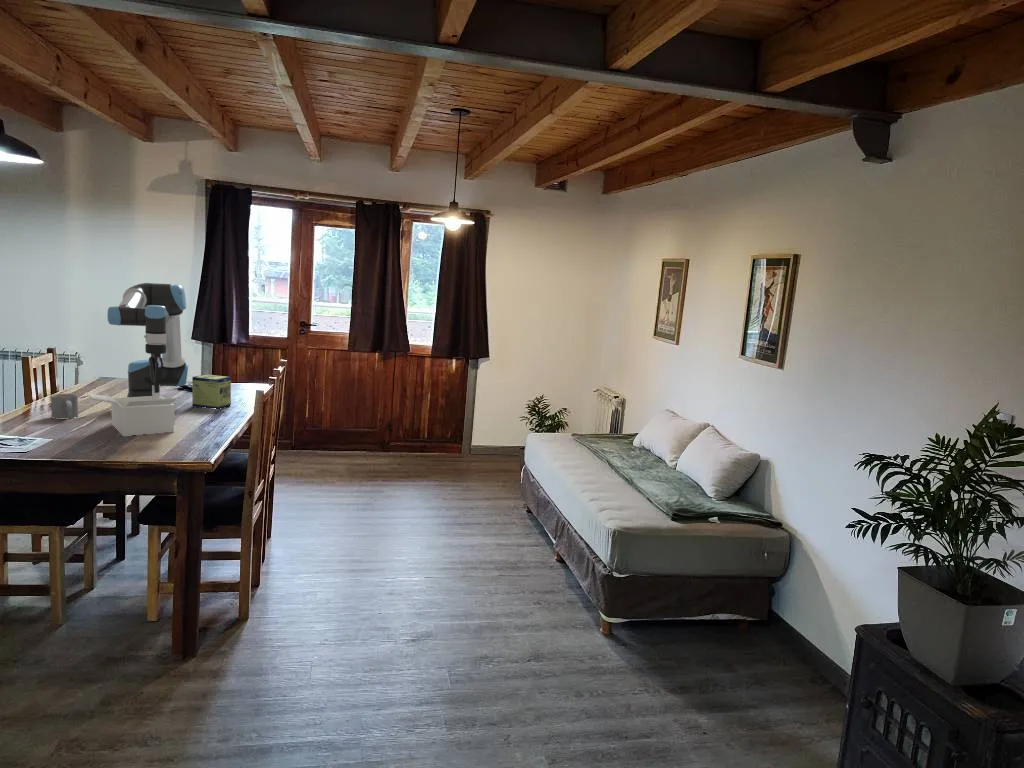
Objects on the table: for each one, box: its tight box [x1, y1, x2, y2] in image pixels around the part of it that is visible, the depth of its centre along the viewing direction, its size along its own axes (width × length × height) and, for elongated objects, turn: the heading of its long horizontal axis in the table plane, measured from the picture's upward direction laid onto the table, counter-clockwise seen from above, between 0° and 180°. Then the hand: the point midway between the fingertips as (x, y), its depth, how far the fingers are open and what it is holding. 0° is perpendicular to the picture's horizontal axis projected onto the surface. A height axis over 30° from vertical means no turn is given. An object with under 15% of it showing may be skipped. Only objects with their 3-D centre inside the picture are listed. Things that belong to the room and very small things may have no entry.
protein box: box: [191, 374, 232, 410], centre depth 349 cm, size 10×16×16 cm
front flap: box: [126, 397, 177, 406], centre depth 281 cm, size 1×17×9 cm
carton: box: [111, 395, 176, 437], centre depth 295 cm, size 24×20×12 cm
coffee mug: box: [50, 393, 79, 419], centre depth 305 cm, size 13×10×10 cm
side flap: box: [86, 393, 118, 404], centre depth 286 cm, size 13×1×9 cm
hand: (156, 399), depth 282 cm, fingers closed
